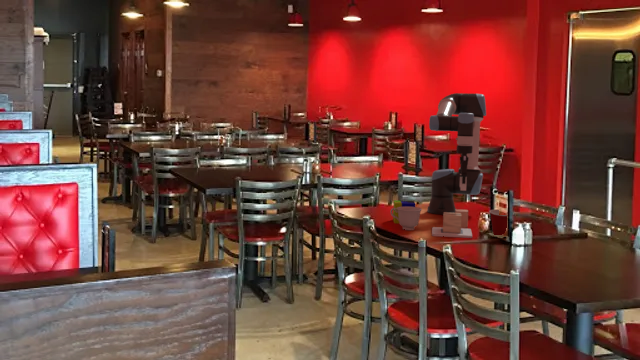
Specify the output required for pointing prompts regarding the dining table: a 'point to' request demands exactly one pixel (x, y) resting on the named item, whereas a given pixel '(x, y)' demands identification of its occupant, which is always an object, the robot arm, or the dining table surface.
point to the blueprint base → (439, 232)
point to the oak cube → (452, 222)
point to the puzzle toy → (401, 204)
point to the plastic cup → (498, 222)
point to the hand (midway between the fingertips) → (462, 188)
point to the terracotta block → (463, 217)
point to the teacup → (407, 216)
